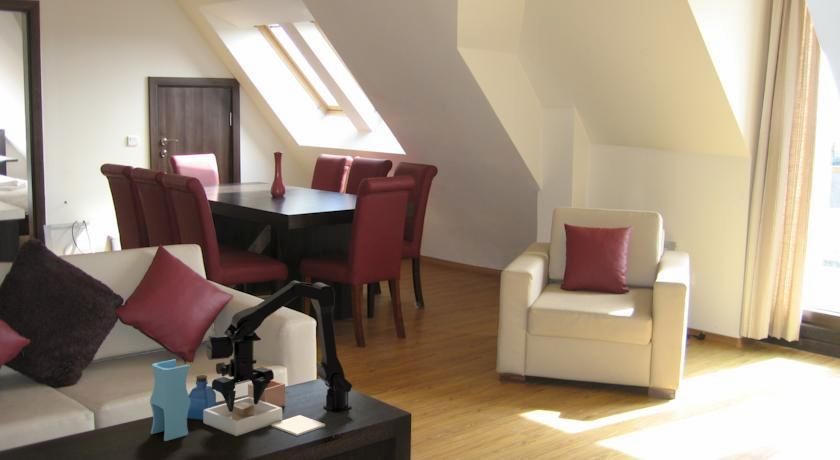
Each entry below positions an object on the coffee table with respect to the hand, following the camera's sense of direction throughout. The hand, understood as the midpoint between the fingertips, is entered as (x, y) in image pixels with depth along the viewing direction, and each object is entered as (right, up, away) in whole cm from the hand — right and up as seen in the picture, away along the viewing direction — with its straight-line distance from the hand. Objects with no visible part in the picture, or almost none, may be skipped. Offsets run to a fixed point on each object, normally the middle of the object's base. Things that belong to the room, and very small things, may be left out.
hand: (243, 407), depth 255 cm
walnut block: (0, -4, 0) cm, 4 cm away
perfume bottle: (-13, -4, +5) cm, 15 cm away
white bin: (0, -4, +1) cm, 4 cm away
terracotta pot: (+4, -2, +15) cm, 16 cm away
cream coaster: (+16, -5, -1) cm, 17 cm away
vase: (-18, -5, -10) cm, 22 cm away
